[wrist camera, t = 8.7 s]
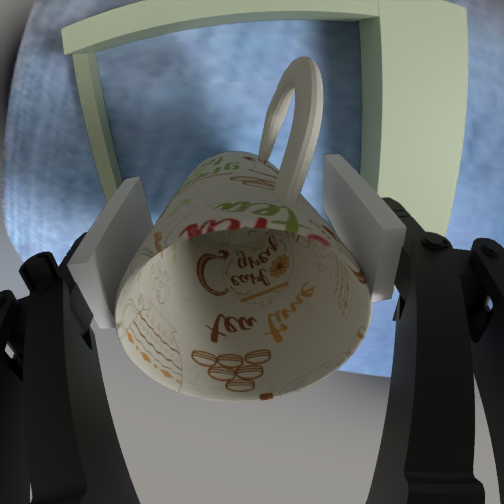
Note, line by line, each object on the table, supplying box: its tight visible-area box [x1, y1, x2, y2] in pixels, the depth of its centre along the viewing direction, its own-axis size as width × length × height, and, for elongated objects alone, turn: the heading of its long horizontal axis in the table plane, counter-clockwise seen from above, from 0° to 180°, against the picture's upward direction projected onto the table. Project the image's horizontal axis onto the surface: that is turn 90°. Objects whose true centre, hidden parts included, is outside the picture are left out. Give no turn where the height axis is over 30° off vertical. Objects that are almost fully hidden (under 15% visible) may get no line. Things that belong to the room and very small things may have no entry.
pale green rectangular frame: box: [61, 0, 468, 289], centre depth 17 cm, size 20×22×4 cm
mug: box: [114, 57, 372, 402], centre depth 13 cm, size 8×13×10 cm, turn 166°
